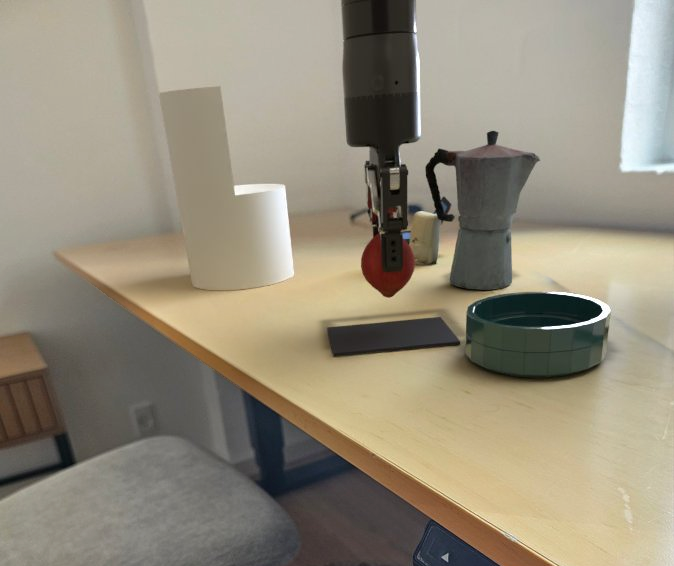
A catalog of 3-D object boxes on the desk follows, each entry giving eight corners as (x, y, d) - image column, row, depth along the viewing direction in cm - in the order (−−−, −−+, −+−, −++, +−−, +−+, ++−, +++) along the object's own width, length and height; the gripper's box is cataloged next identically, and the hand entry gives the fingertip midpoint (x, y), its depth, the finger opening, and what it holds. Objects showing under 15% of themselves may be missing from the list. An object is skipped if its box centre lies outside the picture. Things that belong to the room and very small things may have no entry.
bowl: (571, 332, 73) (576, 286, 70) (629, 373, 61) (636, 321, 59) (452, 343, 72) (453, 298, 70) (486, 387, 60) (488, 335, 58)
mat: (440, 319, 81) (440, 316, 80) (460, 344, 72) (460, 341, 71) (327, 330, 80) (327, 327, 80) (333, 356, 71) (333, 353, 71)
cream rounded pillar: (447, 259, 112) (447, 210, 108) (436, 266, 108) (436, 215, 104) (415, 258, 114) (414, 210, 111) (404, 265, 110) (403, 215, 107)
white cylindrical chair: (192, 295, 102) (156, 90, 89) (191, 273, 117) (160, 96, 104) (301, 282, 104) (282, 81, 92) (286, 262, 120) (268, 87, 107)
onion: (381, 289, 77) (378, 217, 74) (424, 293, 74) (423, 219, 71) (353, 301, 73) (348, 226, 70) (398, 306, 70) (395, 228, 66)
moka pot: (530, 292, 89) (540, 128, 80) (418, 291, 94) (415, 137, 84) (535, 276, 97) (544, 125, 88) (431, 276, 102) (430, 133, 92)
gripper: (434, 85, 58) (435, 276, 66) (406, 91, 71) (410, 250, 79) (350, 91, 58) (361, 282, 66) (338, 96, 71) (348, 256, 78)
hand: (388, 264), depth 72 cm, fingers closed on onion, 6 cm apart
